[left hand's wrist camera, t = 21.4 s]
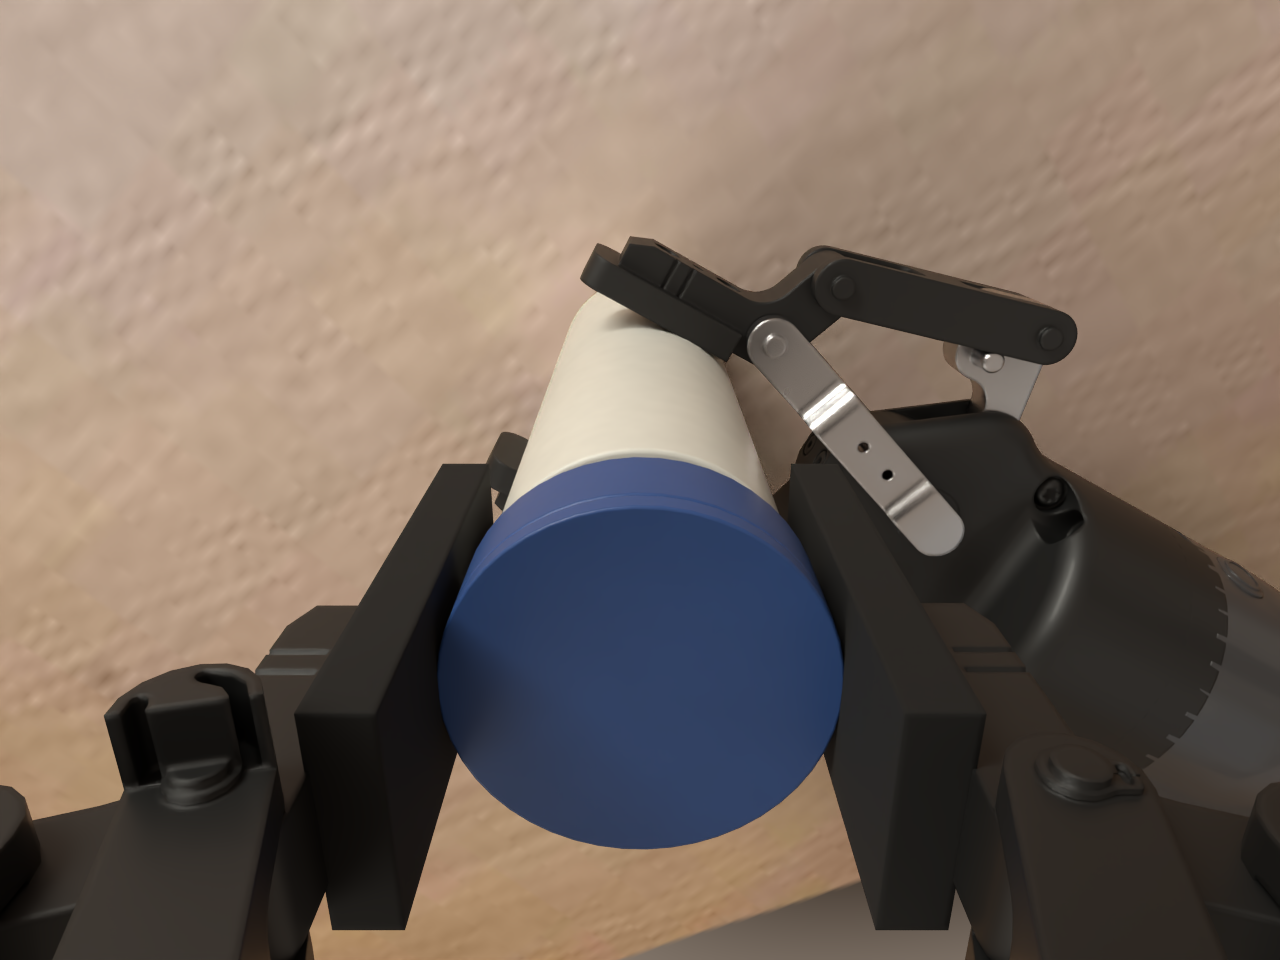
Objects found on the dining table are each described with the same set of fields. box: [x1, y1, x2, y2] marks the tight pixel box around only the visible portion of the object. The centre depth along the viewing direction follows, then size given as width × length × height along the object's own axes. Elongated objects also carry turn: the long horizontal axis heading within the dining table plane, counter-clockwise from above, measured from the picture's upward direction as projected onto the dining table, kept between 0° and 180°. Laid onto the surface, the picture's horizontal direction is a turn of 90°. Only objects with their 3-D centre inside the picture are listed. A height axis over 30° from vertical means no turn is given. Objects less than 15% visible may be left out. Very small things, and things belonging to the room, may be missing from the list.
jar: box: [502, 292, 779, 514], centre depth 19 cm, size 5×5×16 cm
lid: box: [437, 457, 844, 849], centre depth 11 cm, size 5×5×2 cm
